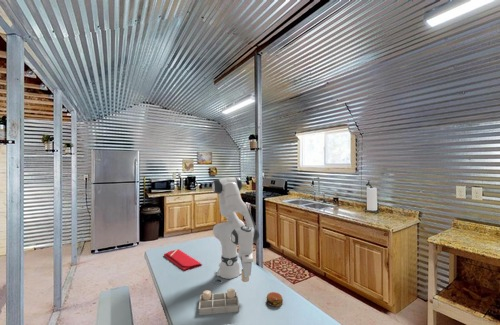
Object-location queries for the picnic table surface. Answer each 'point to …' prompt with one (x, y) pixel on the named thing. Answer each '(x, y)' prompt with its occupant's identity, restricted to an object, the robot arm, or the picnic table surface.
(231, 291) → the egg
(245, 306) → the picnic table surface
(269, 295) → the burger
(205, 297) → the egg
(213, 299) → the carton
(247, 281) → the egg
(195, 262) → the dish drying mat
